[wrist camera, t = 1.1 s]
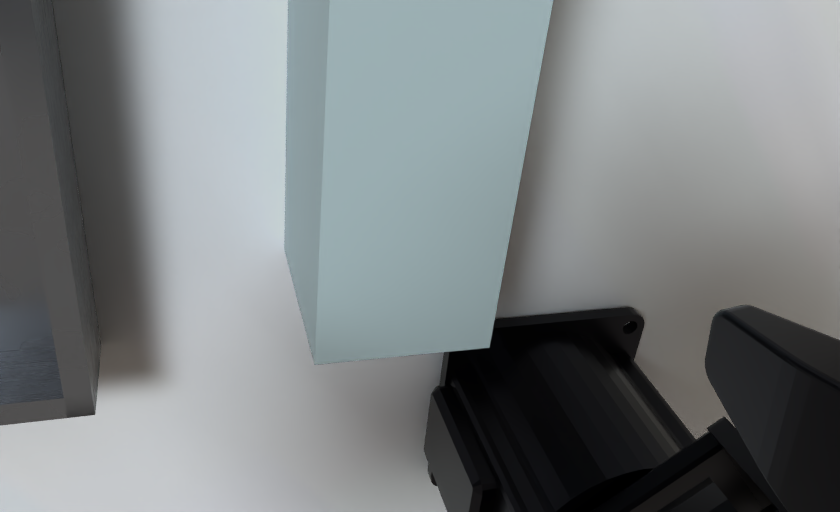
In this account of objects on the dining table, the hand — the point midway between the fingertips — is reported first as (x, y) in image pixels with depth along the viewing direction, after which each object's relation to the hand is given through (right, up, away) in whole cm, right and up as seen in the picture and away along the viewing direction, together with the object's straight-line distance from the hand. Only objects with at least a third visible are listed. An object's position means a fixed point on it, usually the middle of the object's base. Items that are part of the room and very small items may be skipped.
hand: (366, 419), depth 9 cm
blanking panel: (0, +7, +9) cm, 12 cm away
